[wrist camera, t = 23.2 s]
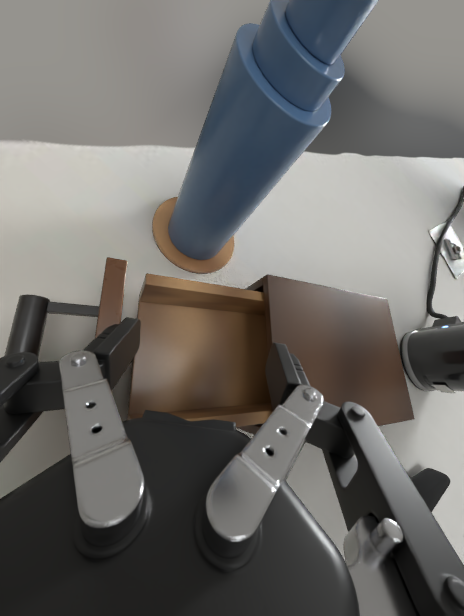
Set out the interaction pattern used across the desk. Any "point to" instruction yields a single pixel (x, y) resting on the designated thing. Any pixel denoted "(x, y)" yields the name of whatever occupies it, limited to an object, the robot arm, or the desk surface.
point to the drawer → (176, 345)
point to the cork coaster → (174, 254)
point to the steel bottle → (262, 116)
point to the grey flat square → (450, 248)
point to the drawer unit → (338, 345)
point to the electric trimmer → (431, 486)
